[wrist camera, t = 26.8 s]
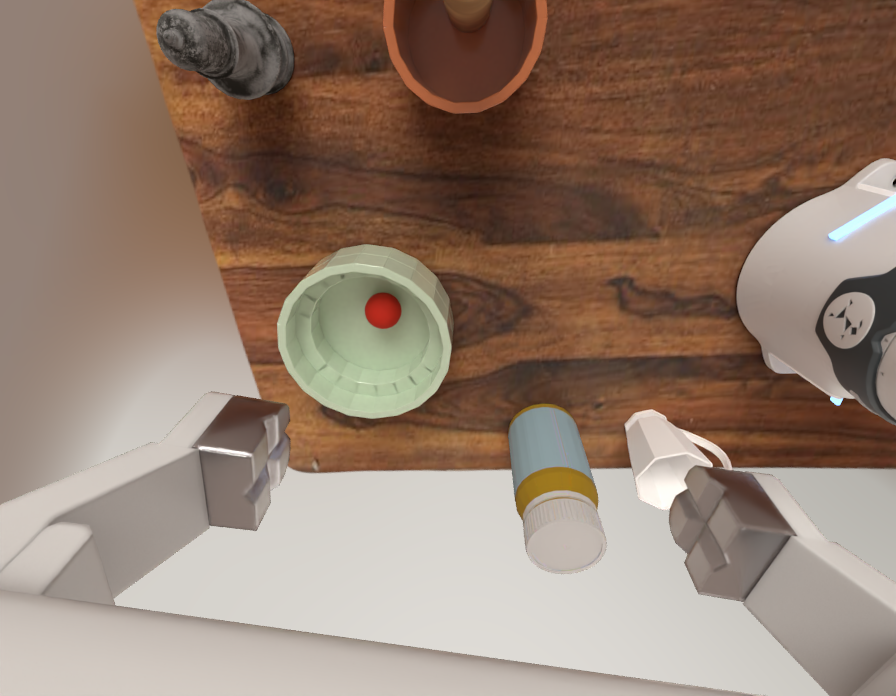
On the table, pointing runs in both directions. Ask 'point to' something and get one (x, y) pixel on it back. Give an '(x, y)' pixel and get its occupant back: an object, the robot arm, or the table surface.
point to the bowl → (367, 333)
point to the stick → (468, 14)
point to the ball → (383, 310)
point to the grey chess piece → (229, 47)
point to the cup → (664, 457)
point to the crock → (464, 51)
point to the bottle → (555, 491)
